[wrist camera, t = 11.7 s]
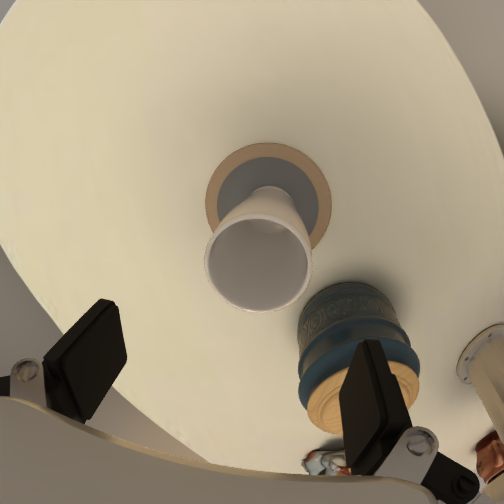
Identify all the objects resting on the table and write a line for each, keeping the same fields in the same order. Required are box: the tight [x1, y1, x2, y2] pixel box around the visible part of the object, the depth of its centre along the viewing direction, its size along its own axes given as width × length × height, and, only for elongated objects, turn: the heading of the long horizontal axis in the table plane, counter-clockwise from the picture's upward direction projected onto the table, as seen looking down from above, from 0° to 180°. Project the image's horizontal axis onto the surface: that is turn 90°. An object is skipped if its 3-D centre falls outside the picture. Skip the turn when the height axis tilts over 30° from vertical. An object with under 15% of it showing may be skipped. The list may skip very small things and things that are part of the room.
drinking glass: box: [204, 186, 312, 313], centre depth 25 cm, size 7×7×15 cm
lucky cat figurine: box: [302, 450, 361, 476], centre depth 44 cm, size 15×12×14 cm
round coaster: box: [205, 143, 331, 250], centre depth 32 cm, size 14×14×1 cm
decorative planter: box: [476, 431, 504, 485], centre depth 41 cm, size 20×12×14 cm, turn 43°
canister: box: [297, 282, 420, 435], centre depth 29 cm, size 13×13×18 cm
